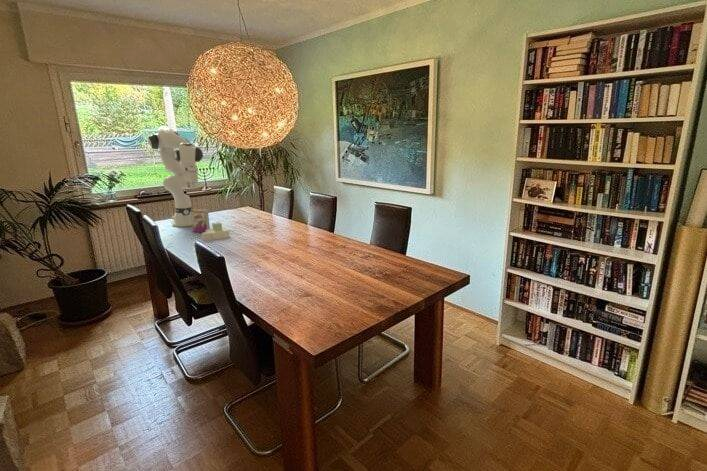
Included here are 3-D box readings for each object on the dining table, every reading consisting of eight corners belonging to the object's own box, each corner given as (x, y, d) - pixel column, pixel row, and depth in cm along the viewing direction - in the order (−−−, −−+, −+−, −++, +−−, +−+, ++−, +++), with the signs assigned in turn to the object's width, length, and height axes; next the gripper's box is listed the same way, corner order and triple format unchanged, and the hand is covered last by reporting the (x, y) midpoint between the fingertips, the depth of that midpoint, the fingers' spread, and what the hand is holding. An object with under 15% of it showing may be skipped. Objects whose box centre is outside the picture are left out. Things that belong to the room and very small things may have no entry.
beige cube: (202, 239, 246) (201, 232, 244) (209, 238, 249) (209, 231, 248) (204, 241, 242) (204, 234, 241) (212, 240, 245) (211, 233, 244)
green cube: (212, 229, 253) (212, 223, 252) (220, 228, 256) (219, 222, 255) (215, 231, 250) (214, 224, 248) (222, 230, 252) (221, 223, 251)
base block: (206, 236, 255) (205, 229, 253) (222, 233, 262) (221, 227, 261) (212, 240, 246) (212, 233, 245) (229, 237, 254) (228, 230, 253)
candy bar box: (192, 232, 264) (190, 210, 259) (196, 230, 269) (193, 209, 264) (207, 232, 263) (204, 210, 258) (210, 231, 268) (208, 209, 263)
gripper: (179, 166, 246) (181, 186, 250) (188, 169, 231) (191, 190, 235) (189, 166, 250) (191, 186, 253) (198, 168, 235) (200, 189, 238)
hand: (191, 188), depth 244 cm, fingers open, 8 cm apart
